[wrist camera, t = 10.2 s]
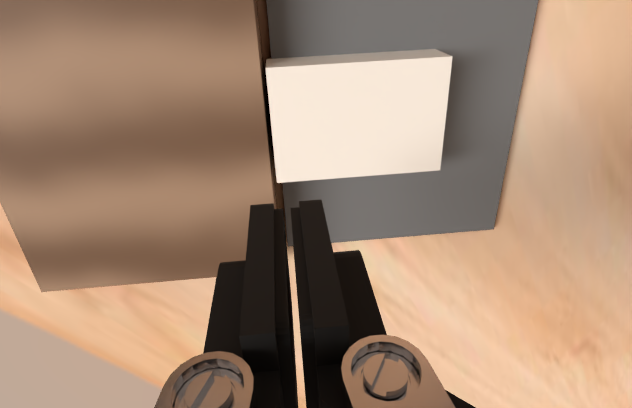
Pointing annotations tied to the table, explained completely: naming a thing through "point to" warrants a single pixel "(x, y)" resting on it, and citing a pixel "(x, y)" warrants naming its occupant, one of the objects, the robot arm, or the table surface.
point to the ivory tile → (358, 113)
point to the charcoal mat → (461, 117)
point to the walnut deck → (131, 137)
